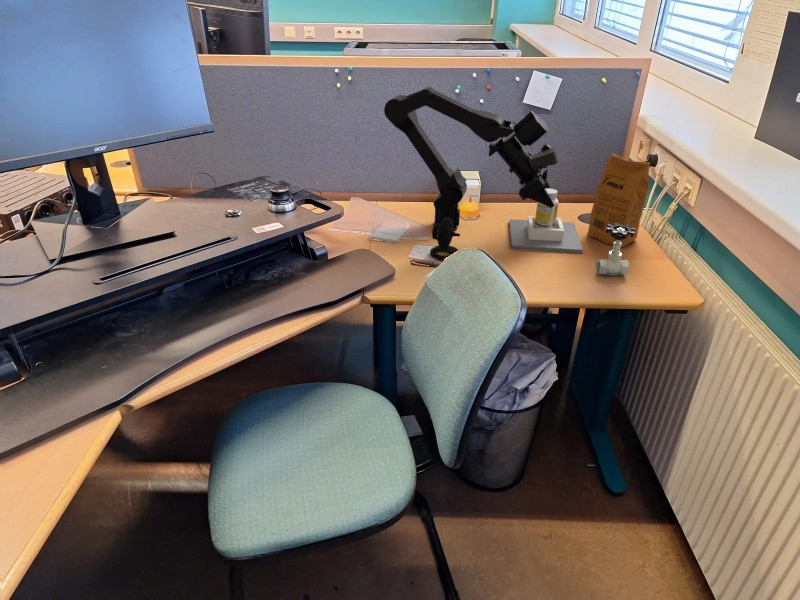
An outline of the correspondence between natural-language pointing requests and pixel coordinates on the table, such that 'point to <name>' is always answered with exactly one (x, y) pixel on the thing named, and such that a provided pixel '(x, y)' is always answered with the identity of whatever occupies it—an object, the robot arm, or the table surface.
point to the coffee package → (619, 198)
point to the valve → (615, 252)
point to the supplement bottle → (547, 212)
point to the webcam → (443, 238)
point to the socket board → (544, 236)
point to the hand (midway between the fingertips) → (553, 202)
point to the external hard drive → (389, 234)
